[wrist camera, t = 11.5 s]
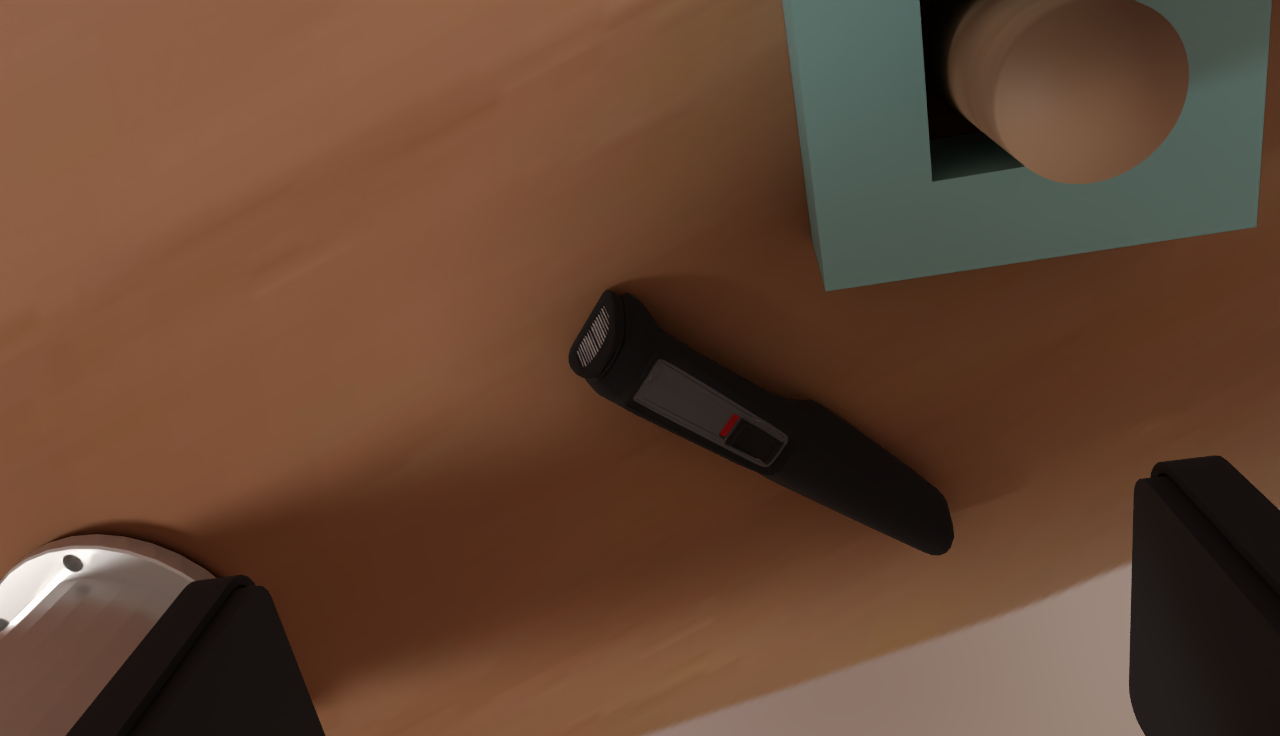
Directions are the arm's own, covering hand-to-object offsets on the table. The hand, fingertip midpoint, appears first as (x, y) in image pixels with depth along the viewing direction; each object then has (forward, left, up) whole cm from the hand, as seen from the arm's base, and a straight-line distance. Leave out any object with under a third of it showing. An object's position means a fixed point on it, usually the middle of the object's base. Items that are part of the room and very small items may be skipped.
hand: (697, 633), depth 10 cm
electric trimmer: (-10, 0, -25) cm, 27 cm away
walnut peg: (+2, -9, -24) cm, 26 cm away
